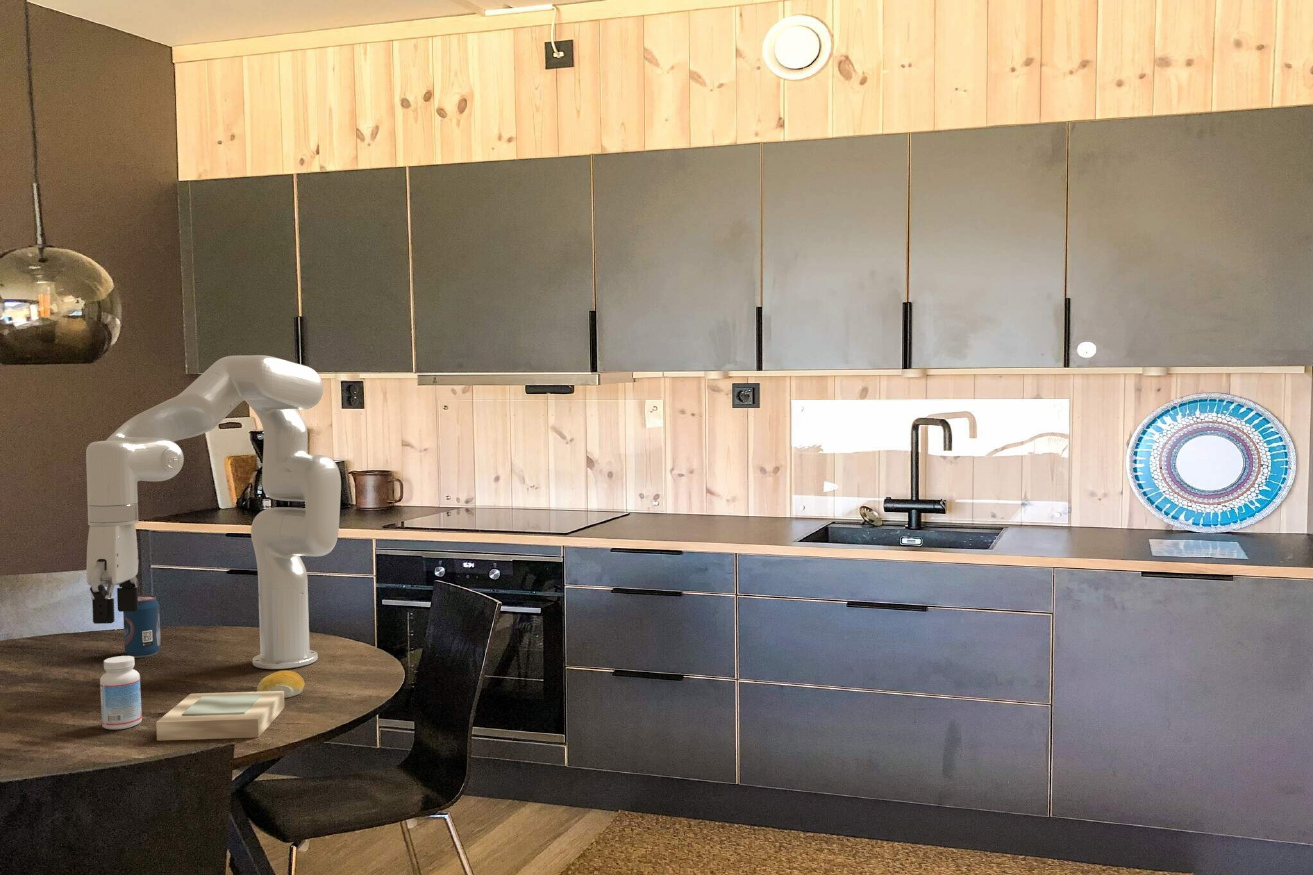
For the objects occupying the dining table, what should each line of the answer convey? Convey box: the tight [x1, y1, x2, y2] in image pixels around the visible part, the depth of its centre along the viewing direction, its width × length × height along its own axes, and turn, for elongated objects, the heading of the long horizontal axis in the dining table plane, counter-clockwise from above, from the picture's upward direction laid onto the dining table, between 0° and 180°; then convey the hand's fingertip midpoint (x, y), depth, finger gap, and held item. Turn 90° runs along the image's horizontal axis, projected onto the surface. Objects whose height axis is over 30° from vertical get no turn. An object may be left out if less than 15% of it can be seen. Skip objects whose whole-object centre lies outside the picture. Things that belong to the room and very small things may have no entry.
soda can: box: [122, 594, 162, 659], centre depth 236 cm, size 7×7×12 cm
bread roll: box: [256, 670, 306, 699], centre depth 207 cm, size 8×9×4 cm
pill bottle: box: [99, 655, 143, 731], centre depth 188 cm, size 6×6×11 cm
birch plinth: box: [155, 691, 285, 741], centre depth 189 cm, size 16×16×3 cm
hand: (116, 616), depth 187 cm, fingers open, 9 cm apart
